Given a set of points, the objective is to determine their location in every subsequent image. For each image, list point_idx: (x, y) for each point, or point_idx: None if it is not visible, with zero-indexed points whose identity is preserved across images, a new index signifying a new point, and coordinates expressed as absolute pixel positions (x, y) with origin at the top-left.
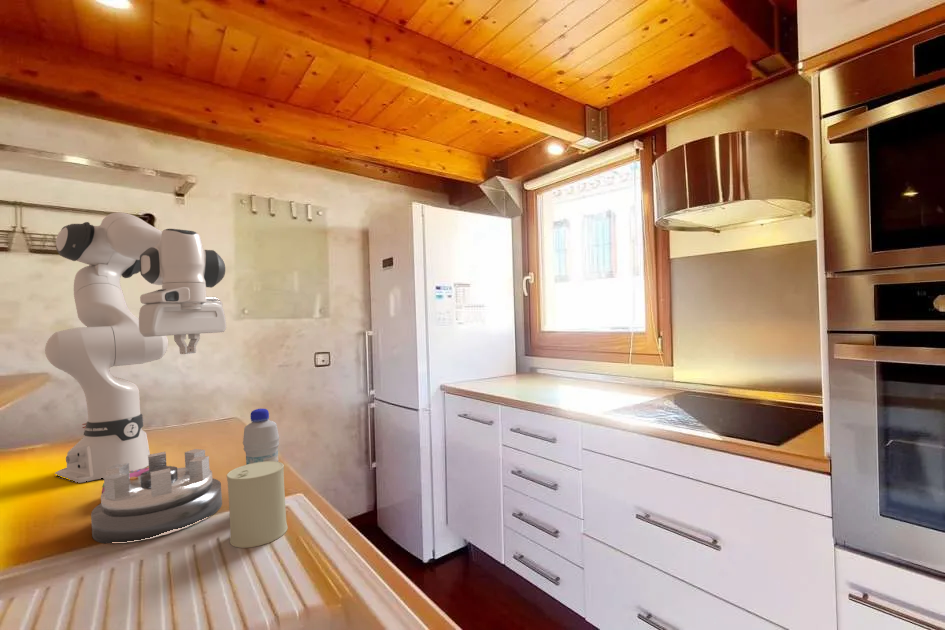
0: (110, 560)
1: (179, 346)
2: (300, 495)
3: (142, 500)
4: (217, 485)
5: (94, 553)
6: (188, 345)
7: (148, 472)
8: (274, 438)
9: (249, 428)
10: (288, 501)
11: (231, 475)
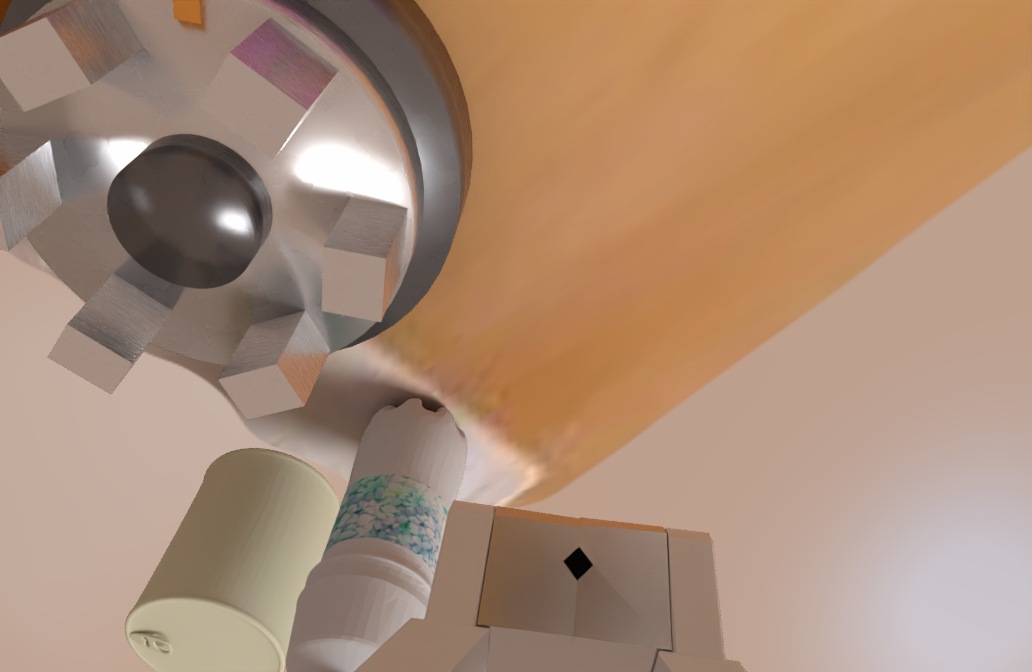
0: None
1: (405, 640)
2: (521, 481)
3: (70, 283)
4: (385, 315)
5: None
6: (663, 670)
7: (154, 182)
8: None
9: (287, 668)
10: (471, 470)
11: (143, 616)
